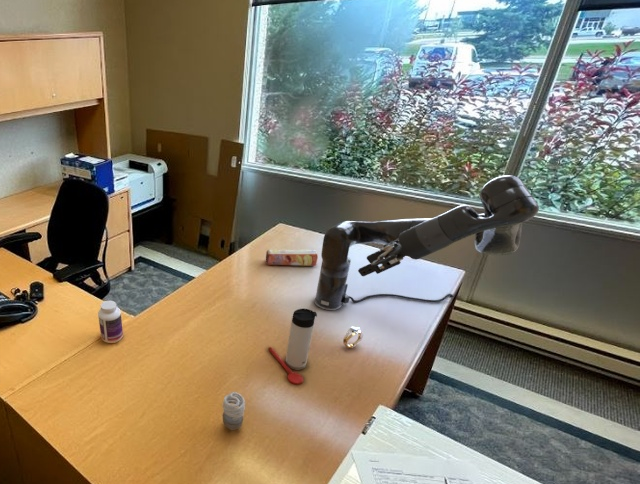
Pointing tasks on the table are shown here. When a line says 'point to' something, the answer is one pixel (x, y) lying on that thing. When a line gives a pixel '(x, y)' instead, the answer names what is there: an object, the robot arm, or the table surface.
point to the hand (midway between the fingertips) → (364, 266)
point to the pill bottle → (110, 322)
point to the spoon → (288, 370)
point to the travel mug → (300, 338)
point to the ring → (356, 331)
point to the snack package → (291, 257)
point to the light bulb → (233, 410)
